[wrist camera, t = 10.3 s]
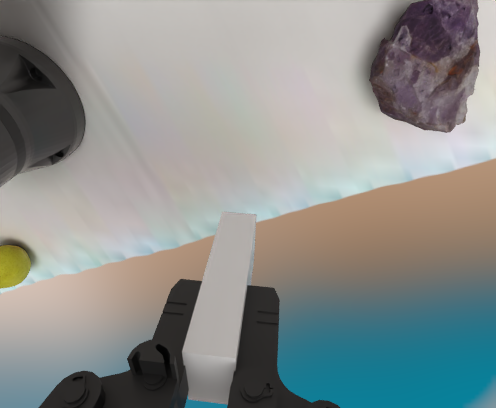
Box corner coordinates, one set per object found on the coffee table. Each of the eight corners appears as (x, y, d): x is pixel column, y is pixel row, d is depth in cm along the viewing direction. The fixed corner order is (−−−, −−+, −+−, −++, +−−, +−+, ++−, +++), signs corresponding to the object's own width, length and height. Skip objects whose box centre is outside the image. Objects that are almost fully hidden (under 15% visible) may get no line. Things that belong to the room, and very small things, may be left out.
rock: (463, -12, 31) (351, 22, 33) (518, -30, 23) (367, 16, 26) (465, 113, 35) (367, 136, 38) (512, 133, 28) (384, 159, 30)
